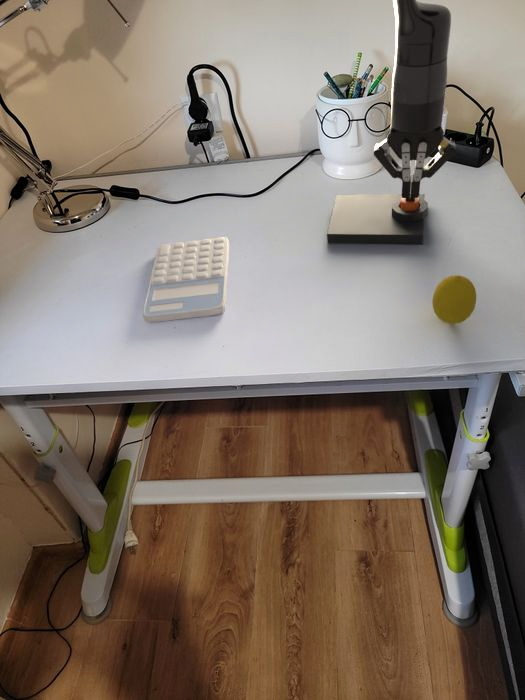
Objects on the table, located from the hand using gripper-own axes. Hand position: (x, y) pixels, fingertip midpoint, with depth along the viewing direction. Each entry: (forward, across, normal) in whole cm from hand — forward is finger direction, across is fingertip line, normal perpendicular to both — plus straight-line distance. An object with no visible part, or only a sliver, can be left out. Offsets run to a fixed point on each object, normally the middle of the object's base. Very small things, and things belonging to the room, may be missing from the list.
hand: (410, 198), depth 86 cm
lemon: (+5, +7, -25) cm, 26 cm away
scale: (+5, -6, 0) cm, 7 cm away
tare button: (+2, 0, 0) cm, 2 cm away
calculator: (+5, -35, -18) cm, 40 cm away
